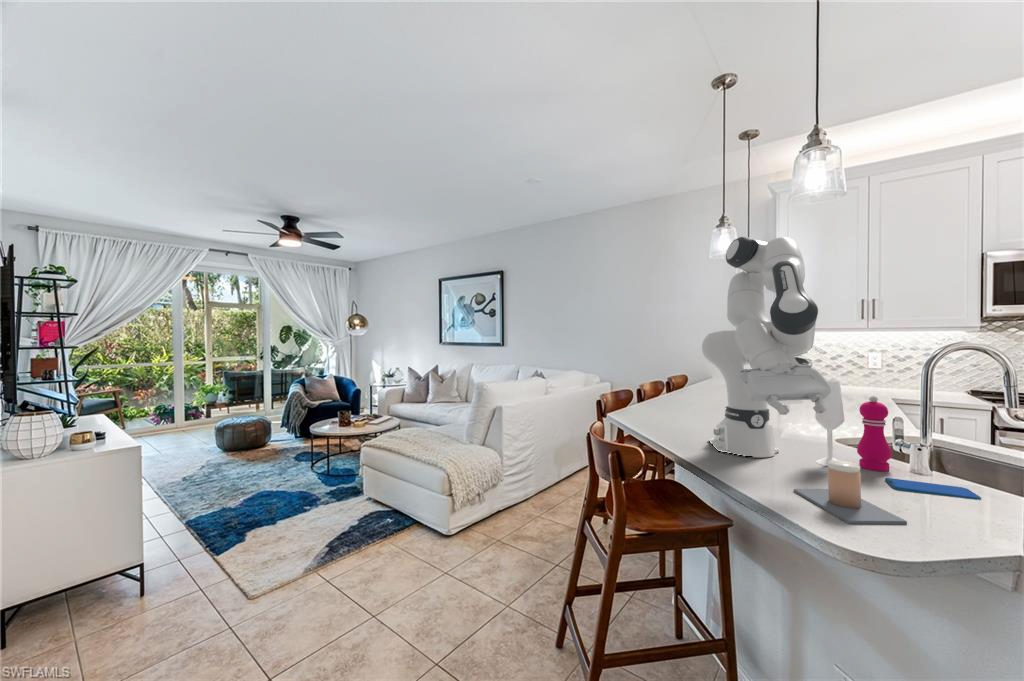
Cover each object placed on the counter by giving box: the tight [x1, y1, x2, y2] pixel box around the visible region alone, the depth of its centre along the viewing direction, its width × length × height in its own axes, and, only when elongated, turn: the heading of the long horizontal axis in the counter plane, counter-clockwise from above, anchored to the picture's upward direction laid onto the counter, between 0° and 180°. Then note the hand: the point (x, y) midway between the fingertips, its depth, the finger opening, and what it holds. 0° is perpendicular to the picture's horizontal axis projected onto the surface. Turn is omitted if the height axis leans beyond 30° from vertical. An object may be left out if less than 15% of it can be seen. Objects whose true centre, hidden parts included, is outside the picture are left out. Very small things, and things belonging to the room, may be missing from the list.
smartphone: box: [884, 477, 982, 500], centre depth 97 cm, size 7×1×15 cm
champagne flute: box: [814, 379, 845, 467], centre depth 118 cm, size 7×7×24 cm
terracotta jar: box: [827, 460, 862, 508], centre depth 89 cm, size 6×6×8 cm
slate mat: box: [793, 488, 908, 525], centre depth 89 cm, size 17×11×1 cm, turn 177°
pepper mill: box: [856, 395, 893, 472], centre depth 113 cm, size 7×7×20 cm
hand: (803, 412), depth 98 cm, fingers open, 8 cm apart
